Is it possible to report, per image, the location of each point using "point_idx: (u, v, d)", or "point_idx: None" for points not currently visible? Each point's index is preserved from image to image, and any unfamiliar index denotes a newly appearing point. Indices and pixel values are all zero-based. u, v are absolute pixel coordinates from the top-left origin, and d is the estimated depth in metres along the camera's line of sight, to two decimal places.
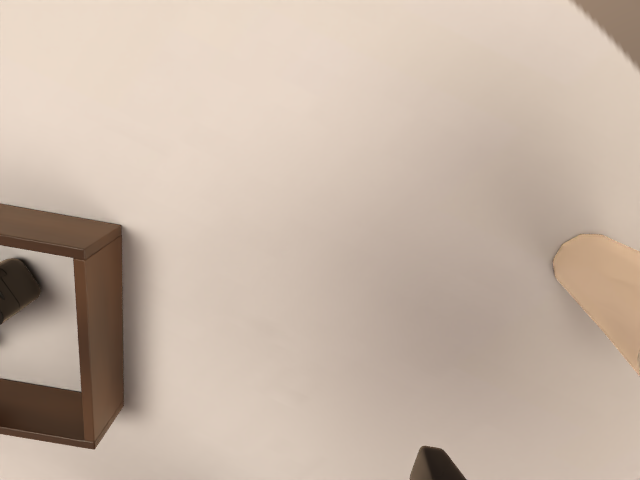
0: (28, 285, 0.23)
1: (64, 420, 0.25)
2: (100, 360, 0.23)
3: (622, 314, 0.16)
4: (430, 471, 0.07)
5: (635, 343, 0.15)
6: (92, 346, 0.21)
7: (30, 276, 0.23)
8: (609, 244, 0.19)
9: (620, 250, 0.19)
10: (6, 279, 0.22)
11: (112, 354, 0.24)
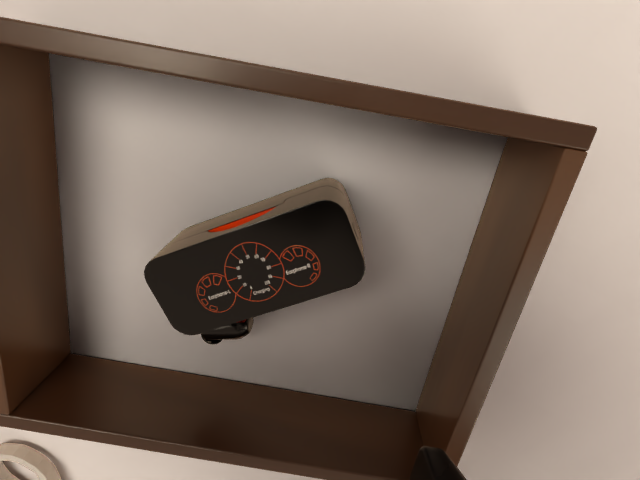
0: (357, 223, 0.13)
1: (376, 449, 0.15)
2: None
3: None
4: (430, 471, 0.07)
5: None
6: (510, 326, 0.12)
7: (352, 210, 0.14)
8: None
9: None
10: (348, 207, 0.12)
11: None
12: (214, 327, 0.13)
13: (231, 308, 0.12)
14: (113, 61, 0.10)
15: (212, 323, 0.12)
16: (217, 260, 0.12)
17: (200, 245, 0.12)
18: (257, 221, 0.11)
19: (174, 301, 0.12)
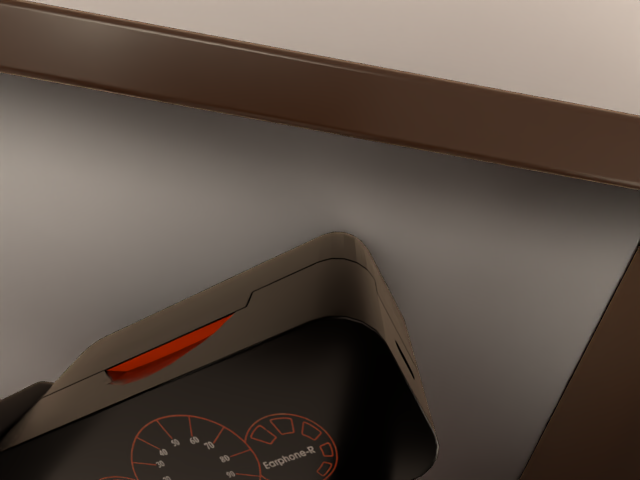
0: (397, 312, 0.07)
1: None
2: None
3: None
4: None
5: None
6: None
7: None
8: None
9: None
10: (382, 299, 0.06)
11: None
12: None
13: None
14: None
15: None
16: (112, 452, 0.05)
17: (70, 429, 0.05)
18: (183, 370, 0.05)
19: None
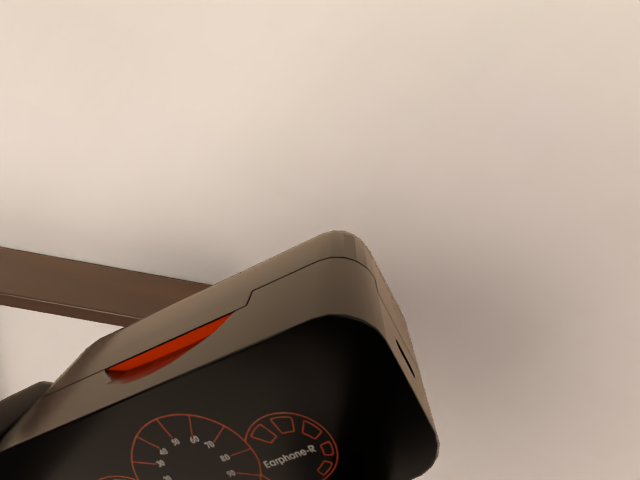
0: (398, 311, 0.07)
1: None
2: None
3: None
4: None
5: None
6: None
7: None
8: None
9: None
10: (382, 297, 0.06)
11: None
12: None
13: None
14: None
15: None
16: (112, 452, 0.05)
17: (70, 428, 0.05)
18: (183, 369, 0.05)
19: None
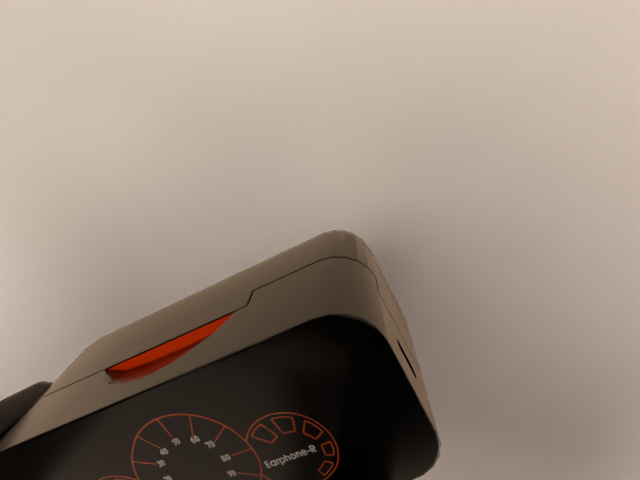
0: (399, 311, 0.07)
1: None
2: None
3: None
4: None
5: None
6: None
7: (386, 283, 0.07)
8: None
9: None
10: (383, 297, 0.06)
11: None
12: None
13: None
14: None
15: None
16: (112, 452, 0.05)
17: (70, 428, 0.05)
18: (184, 369, 0.05)
19: None
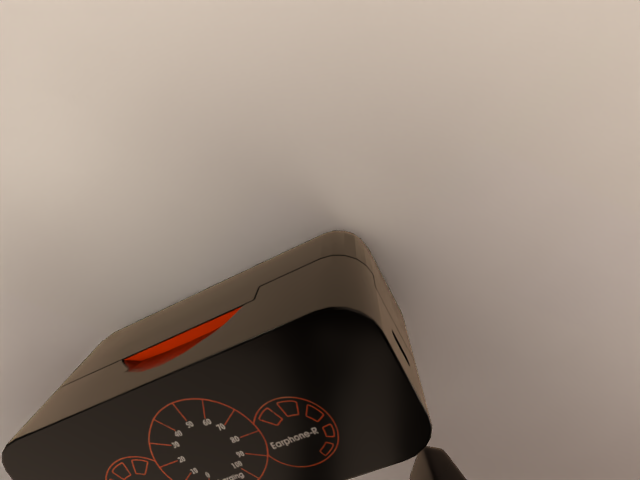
0: (396, 306, 0.07)
1: None
2: None
3: None
4: (430, 471, 0.07)
5: None
6: None
7: (384, 280, 0.08)
8: None
9: None
10: (380, 292, 0.06)
11: None
12: None
13: None
14: None
15: None
16: (131, 434, 0.06)
17: (94, 411, 0.06)
18: (197, 357, 0.05)
19: None
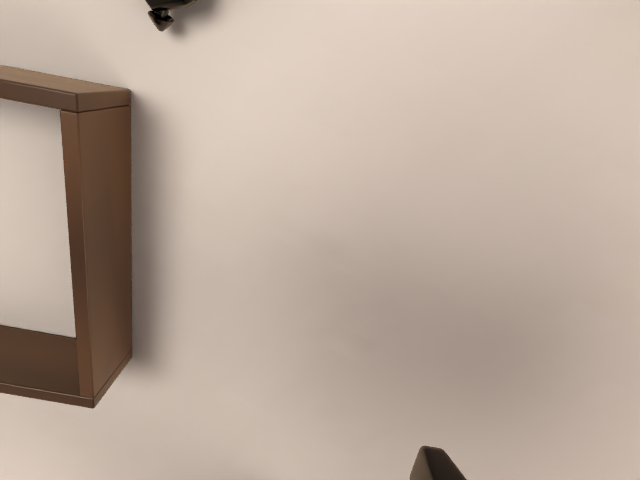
0: None
1: (53, 370, 0.18)
2: (101, 282, 0.16)
3: None
4: (430, 471, 0.07)
5: None
6: (90, 257, 0.15)
7: None
8: None
9: None
10: None
11: (117, 279, 0.18)
12: None
13: None
14: None
15: None
16: None
17: None
18: None
19: None
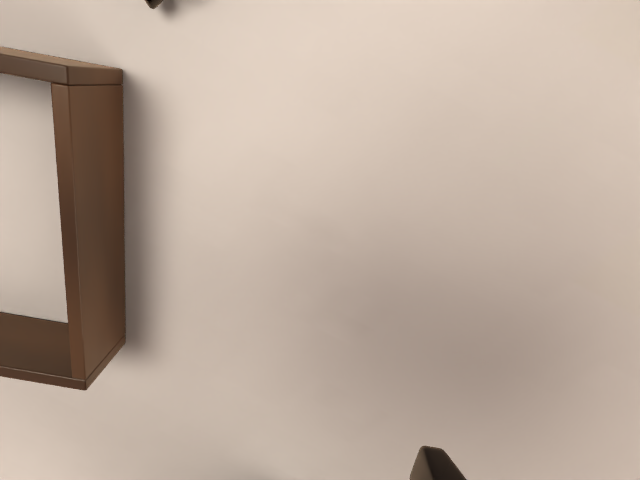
0: None
1: (45, 353, 0.18)
2: (93, 261, 0.16)
3: None
4: (430, 471, 0.07)
5: None
6: (81, 234, 0.15)
7: None
8: None
9: None
10: None
11: (110, 261, 0.18)
12: None
13: None
14: None
15: None
16: None
17: None
18: None
19: None
